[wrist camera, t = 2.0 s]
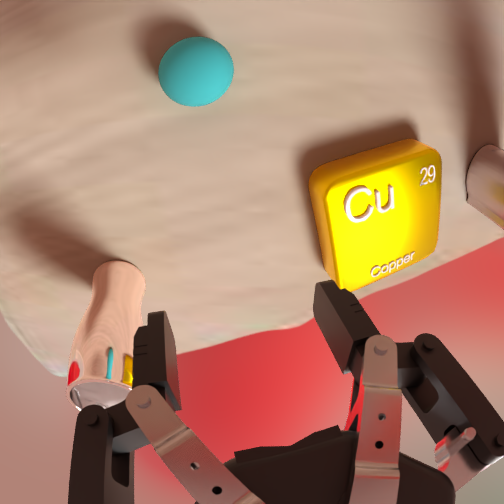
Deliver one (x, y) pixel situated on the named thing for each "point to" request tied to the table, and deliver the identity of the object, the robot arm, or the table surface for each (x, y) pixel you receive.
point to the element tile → (377, 211)
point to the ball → (196, 71)
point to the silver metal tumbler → (106, 338)
